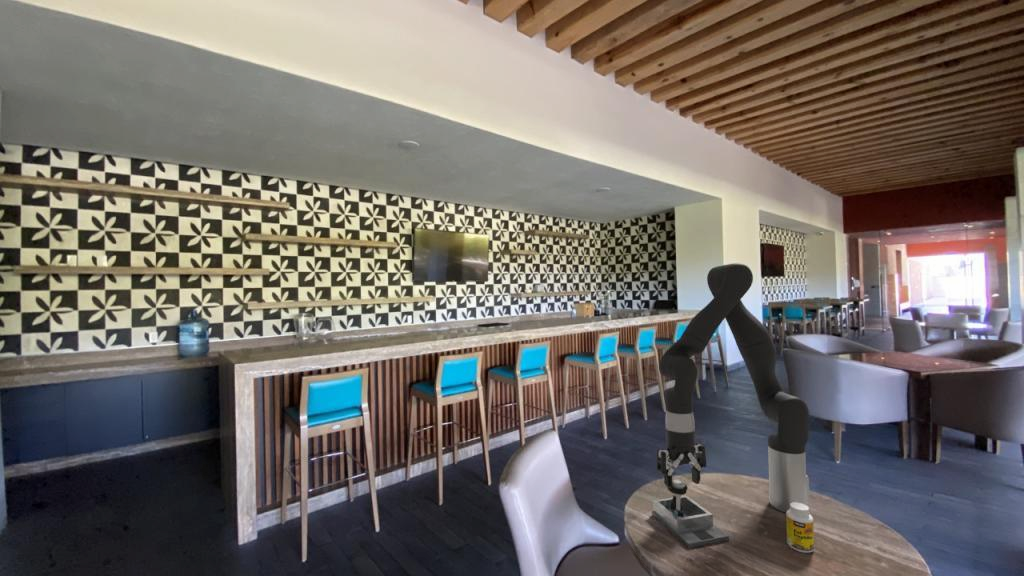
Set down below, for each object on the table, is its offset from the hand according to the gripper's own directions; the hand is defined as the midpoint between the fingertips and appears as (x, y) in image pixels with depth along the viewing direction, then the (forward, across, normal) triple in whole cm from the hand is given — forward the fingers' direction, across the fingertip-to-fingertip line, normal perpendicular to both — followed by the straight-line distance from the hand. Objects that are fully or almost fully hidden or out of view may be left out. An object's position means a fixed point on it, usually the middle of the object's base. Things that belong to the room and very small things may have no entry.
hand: (682, 485), depth 114 cm
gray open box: (+10, 0, +2) cm, 11 cm away
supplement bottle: (+11, -20, +17) cm, 29 cm away
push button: (+9, +2, 0) cm, 10 cm away
